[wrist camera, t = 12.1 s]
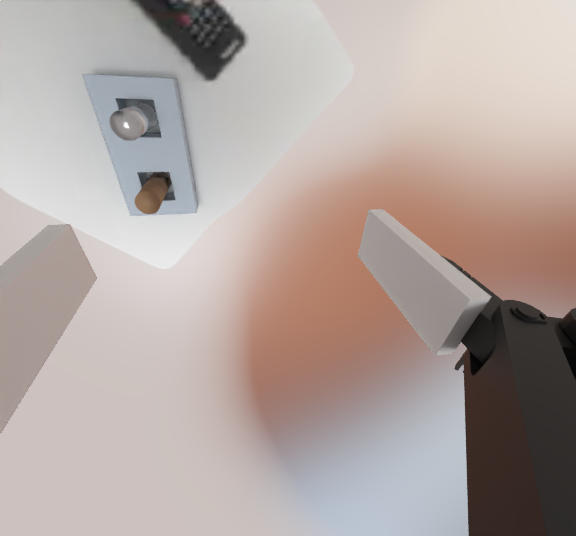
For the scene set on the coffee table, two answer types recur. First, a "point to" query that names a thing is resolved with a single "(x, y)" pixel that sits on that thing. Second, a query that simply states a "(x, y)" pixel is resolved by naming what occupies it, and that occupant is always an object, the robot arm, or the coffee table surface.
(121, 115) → the grey steel peg
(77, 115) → the coffee table surface
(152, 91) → the socket block
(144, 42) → the coffee table surface
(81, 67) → the coffee table surface
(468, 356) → the robot arm
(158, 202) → the walnut peg
